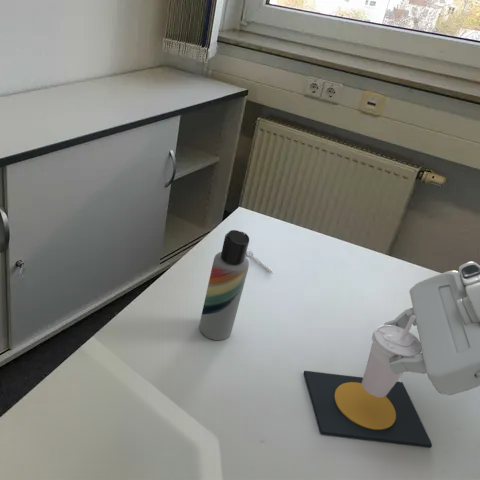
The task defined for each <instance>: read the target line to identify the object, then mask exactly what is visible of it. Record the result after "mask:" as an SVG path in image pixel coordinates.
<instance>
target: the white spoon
mask: <svg viewBox="0 0 480 480" xmlns="http://www.w3.org/2000/svg"><path fill="white" fill-rule="evenodd" d="M246 255H248V256H249V257H250V258H251V259H253V260H254V261H255V262H256V263H258V264H259V265H260V266H261V267H263V268H264V269H265V270H266V271H267V272H269V273H270V274H275V272H274V271H273V270H272V268H270V267H269V266H267V264H266V263H264V262H263V261H262V260H261V259H259V258H258V257H256V256H255V254H254V251H252V250H251V249H250V248H248V249H247V252H246Z"/></svg>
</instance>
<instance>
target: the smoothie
mask: <svg viewBox="0 0 480 480" xmlns="http://www.w3.org/2000/svg"><path fill="white" fill-rule="evenodd" d="M415 318H416V316H414V315H411V317H410V319H409V321H408V323H407V325H406V328H405V329H403V328H400V327H397V326H392V325H384V324H383V325H382V324H381V325H379V326H377V327H376V328H375V329H374V331H373V332H372V334H371V341H372V343H371V347H370V350H369V355H368V358H367V362H366V365H365V370H364V373H363V380H362V387H363V388H364V390H365V391H366V392H368V393H369V394H371V395H373V396H375V397H385V396H386V395H387V394H388V393H389V391H390V390H391V389H392V387H393V386H394V385H395V383H396V382H399V380H400V378H401V377H402V376H403V375H404V373H405V372H403V373H400V374H395V373H393V371H392V370H391V368H390V364H389V358H391V357H395V356H397V355H401V356H402V357H403V358H415V355H417V354H420V353H422V348H421V343H420V339H419V338H417V336H416V335H414V334H413V333H412V332H411V331H410V330H411V327H412V326H413V322H414V320H415Z"/></svg>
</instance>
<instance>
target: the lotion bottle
mask: <svg viewBox="0 0 480 480" xmlns="http://www.w3.org/2000/svg"><path fill="white" fill-rule="evenodd" d="M249 243H250V237H249V235H248V234H247V233H246V232H244V231H240V230H238V229H231V230H230V231H228V232H227V233H226V234H225V235H224V240H223V243H222V248H221V251H219V252H218V253H216V254H215V255H214V258H213V261H212V265H211V269H210V275H209V280H208V284H207V289H206V292H205V298H204V302H203V305H202V311H201V316H200V320H199V330H200V333H201V334H202V335H203V336H204V337H206V338H207V339H210V340H213V341H224V340H226V339H228V338H229V337H230V336H231V334H232V331H233V328H234V324H235V321H236V316H237V313H238V309H239V305H240V302H241V297H242V294H243V290H244V286H245V284H246V283H245V282H246V279H247V275H248V272H249V267H250V261H249V260H248V259H247V257H246V255H247V253H246V252H247V250H248V249H249V248H248V247H249Z"/></svg>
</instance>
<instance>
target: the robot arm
mask: <svg viewBox="0 0 480 480" xmlns="http://www.w3.org/2000/svg"><path fill="white" fill-rule="evenodd" d="M408 292H409V296H410V302H411V306H412V307H411V308H408V309H405V310H403V311H402V312H401V313H399V315H398V316H397V317H395V318H394V319H392V320H389V321H387V322H385V323H384V324H383V325H392V326H397V327H400V328H403V329H405V328H406V325H407V323H408V321H409V319H410V317H411V315H414V316H416V318H415V320H414V322H413V324H412V326H413V327H415V326H416V329H417V334H418V340H419V341H420V343H421V348H422V351H421V353H420V354H417V355H415V358H403V357H402V356H401V355H397V356H395V357H391V358H389V364H390V368H391V370H392V371H393V373H395V374H400V373H403V372H404V373H407V372H410V373H414V374H415V373H416V374H422V375H423V374H426V375H427V378H428V380H429V381H430V383H431V384H432V386H433V387H434V388H435V390H436V391H437V393H439V394H441V395H446V396H454V395H457V394H460V393H463V392H467V391H469V390H472V389H476V388H478V387H480V265H479V264H478V263H477V262H475V261H468V262H466V263H463V264H461V265H460V266H459V267H458V270H448V271H444V272H441V273H438V274H436V275H434V276H430V277H429V278H426V279H423V280H421V281H419V282H417V283H415V285H413V286H412V287H411V288H410V289H409V291H408ZM404 373H403V374H404Z"/></svg>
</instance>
